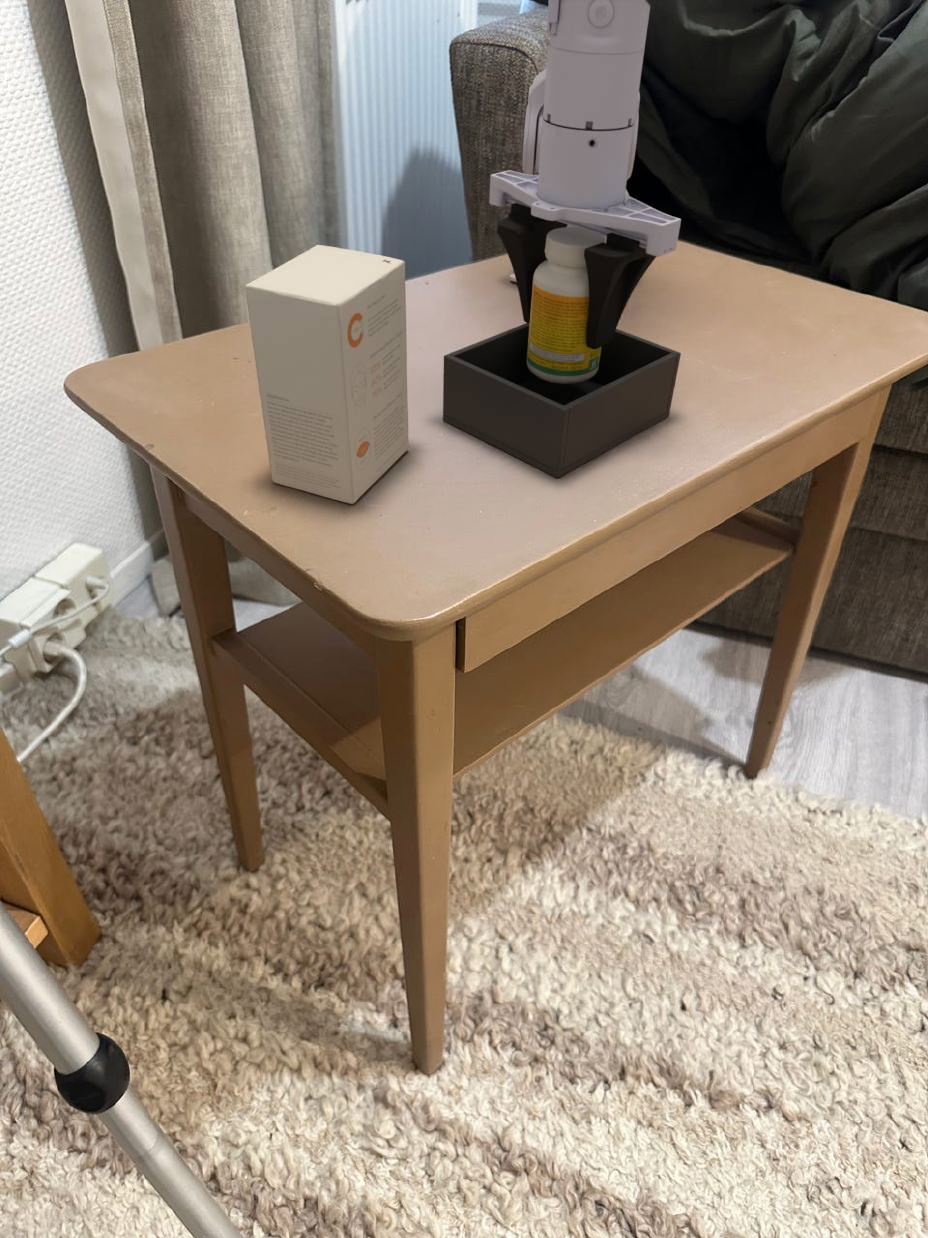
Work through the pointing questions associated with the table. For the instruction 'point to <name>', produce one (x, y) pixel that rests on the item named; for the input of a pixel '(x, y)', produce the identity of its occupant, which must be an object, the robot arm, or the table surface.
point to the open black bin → (557, 399)
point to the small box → (332, 369)
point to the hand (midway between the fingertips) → (566, 331)
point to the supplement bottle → (562, 310)
